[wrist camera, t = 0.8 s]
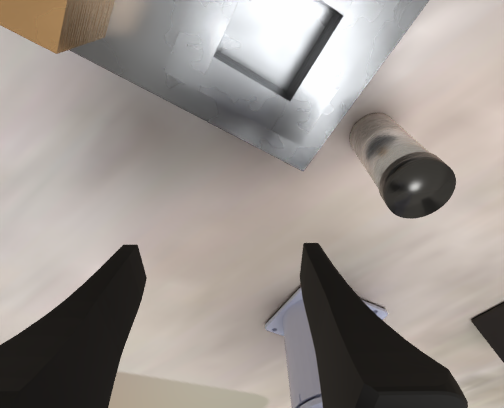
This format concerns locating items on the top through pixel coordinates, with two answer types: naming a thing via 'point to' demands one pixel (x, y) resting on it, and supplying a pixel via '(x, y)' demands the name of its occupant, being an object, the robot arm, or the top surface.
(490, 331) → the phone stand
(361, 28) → the square socket plate
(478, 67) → the top surface
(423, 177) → the shiny metal cylinder
